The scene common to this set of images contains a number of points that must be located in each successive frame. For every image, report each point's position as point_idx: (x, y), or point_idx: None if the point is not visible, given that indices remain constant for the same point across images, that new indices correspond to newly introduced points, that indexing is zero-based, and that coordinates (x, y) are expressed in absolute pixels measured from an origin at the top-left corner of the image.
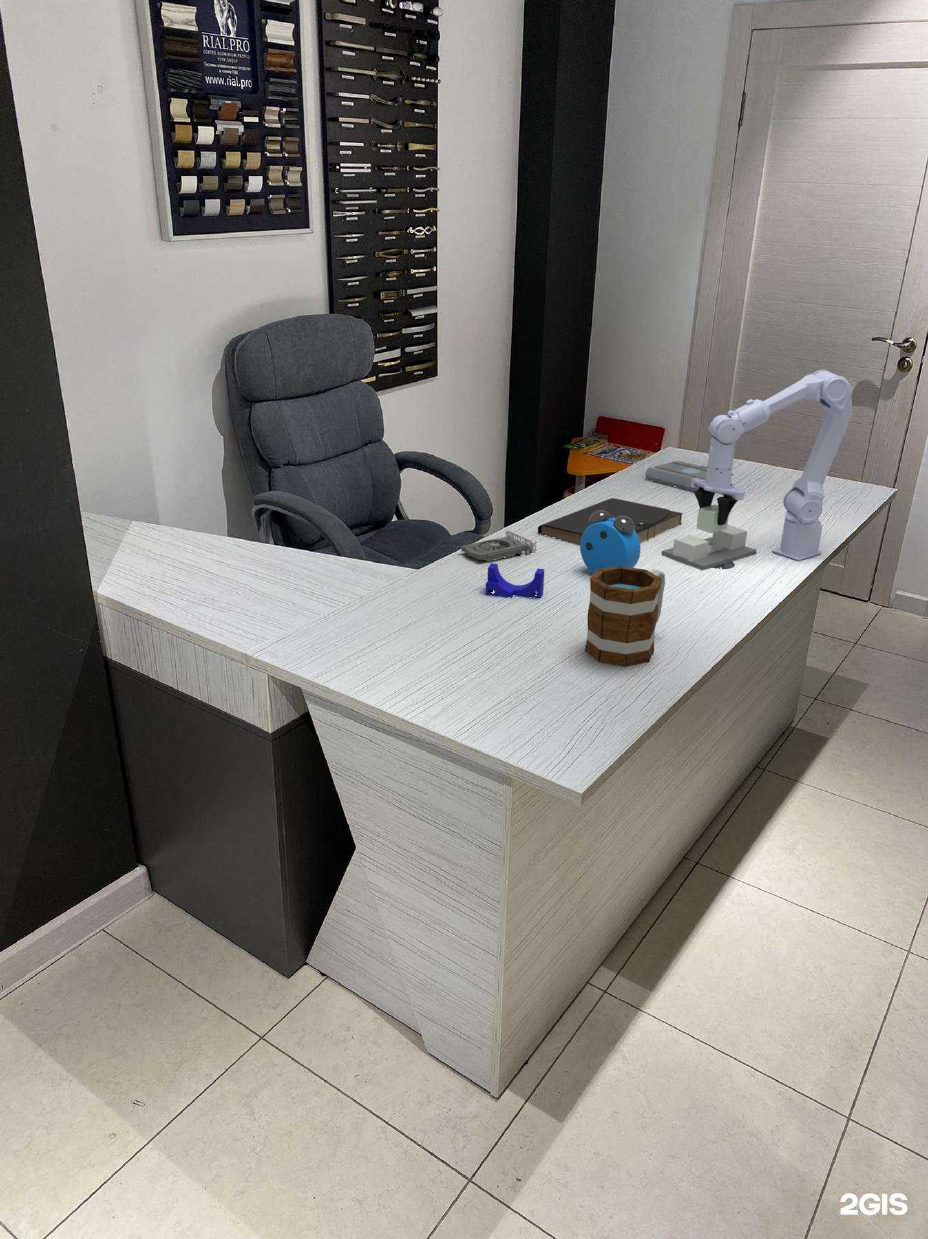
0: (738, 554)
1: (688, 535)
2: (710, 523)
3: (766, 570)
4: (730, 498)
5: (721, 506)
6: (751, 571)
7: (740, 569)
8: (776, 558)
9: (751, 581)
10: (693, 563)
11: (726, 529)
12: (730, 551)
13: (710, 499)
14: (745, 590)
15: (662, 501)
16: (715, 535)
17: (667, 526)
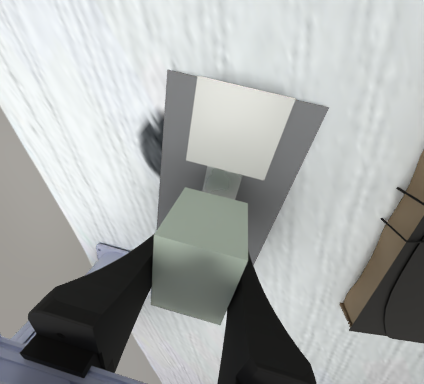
0: (162, 207)
1: (265, 175)
2: (182, 206)
3: (93, 175)
4: (37, 338)
5: (107, 276)
6: (103, 150)
7: (123, 146)
8: (125, 237)
9: (59, 88)
10: None
11: None
12: None
13: (226, 343)
14: (14, 3)
15: (406, 374)
16: None
17: (365, 280)
